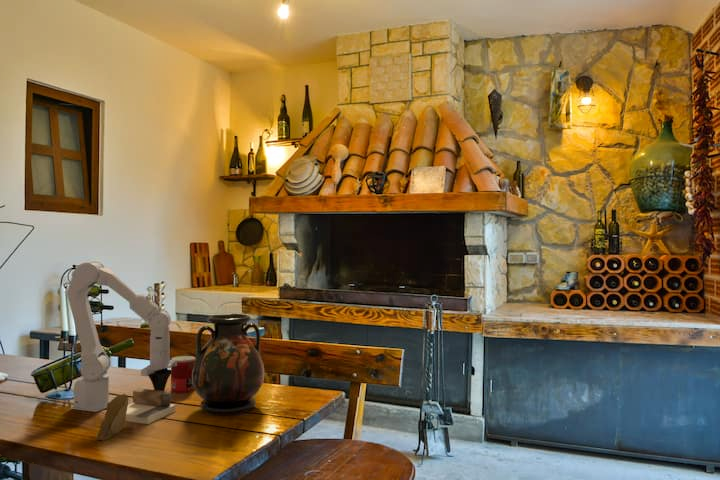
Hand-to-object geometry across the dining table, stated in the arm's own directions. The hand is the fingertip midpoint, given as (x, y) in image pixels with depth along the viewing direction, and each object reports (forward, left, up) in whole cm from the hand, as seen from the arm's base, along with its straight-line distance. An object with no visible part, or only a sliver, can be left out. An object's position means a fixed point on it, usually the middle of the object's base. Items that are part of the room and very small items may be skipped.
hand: (159, 394), depth 168 cm
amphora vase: (+22, +4, -3) cm, 23 cm away
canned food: (-3, +16, -3) cm, 17 cm away
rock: (+5, -25, -3) cm, 26 cm away
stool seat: (+3, -10, -3) cm, 11 cm away
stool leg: (+2, -6, -1) cm, 7 cm away
